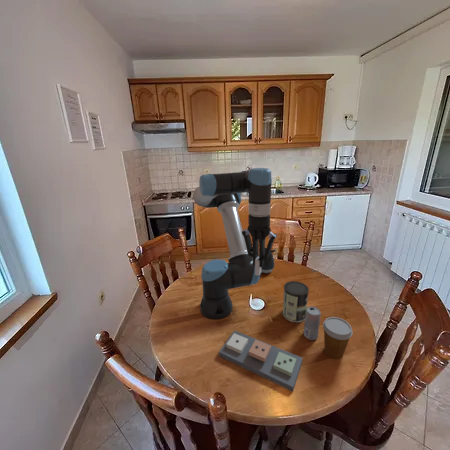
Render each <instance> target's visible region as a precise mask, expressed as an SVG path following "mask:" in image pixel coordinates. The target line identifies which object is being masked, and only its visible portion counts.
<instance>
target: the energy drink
mask: <svg viewBox="0 0 450 450" xmlns="http://www.w3.org/2000/svg"><path fill="white" fill-rule="evenodd" d="M321 315H322V314H321V310H320V309H319V308H318V307H316V306H310V305H309V306H307V309H306V315H305V320H304V324H303V325H304V326H303V336H304V337H305V338H307V340H310V341H314V340H317V339H318V338H319V330H320V322H321Z"/></svg>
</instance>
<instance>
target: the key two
mask: <svg viewBox="0 0 450 450" xmlns="http://www.w3.org/2000/svg"><path fill="white" fill-rule="evenodd" d="M258 340H259V339H257V340H255V342H254V343H253V345H252V347H251V348H250V350H249V355H250V356H252V357H254V358H257V359H259V360H261V361H263V362H265V361H266V359H267V357H268V355H269V353H270V351H271V346H270V345H271V344H270V345H268V344H269V343H267V344H265V343H266V342H265V343H263V342H264V341H262V342H260V341H261V340H260V341H258Z"/></svg>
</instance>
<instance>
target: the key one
mask: <svg viewBox="0 0 450 450" xmlns="http://www.w3.org/2000/svg"><path fill="white" fill-rule="evenodd" d="M247 343H248V339H247V338H245V337H242V336H240V335H237V334H235V333H234V334H233V335H232V337H231V338H230V340H229V341H228V343H227V344H226V346H227V348H229V349H231V350H233V351H236V352H238V353H240V354H241V353H242V352H243V350H244V348H245V347H246V345H247Z"/></svg>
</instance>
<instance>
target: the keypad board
mask: <svg viewBox="0 0 450 450" xmlns="http://www.w3.org/2000/svg"><path fill="white" fill-rule="evenodd" d="M234 333H235V334H237V335H240V336H242V337H245V338H247V339H248V343H247V345H246V347H245V348H244V350H243V352H242V353H241V354H240V353H238V352H236V351H233V350H231V349H229V348H227V346H226V344H227V343H228V341H229V340H230V338H231V337H232V335H233V334H234ZM255 340H258V341H260V342H263V343H265V344H268V345H270V346H271V351H270V353H269V355H268V357H267V359H266V361H265V362H263V361H261V360H259V359H257V358H254V357H252V356H250V355H249V350H250V348H251V347H252V345H253V343H254V342H255ZM279 352H281V353H284V354H286V355H289V356H291V357H293V358H296V364H295V367H294V370H293V373H292V376H289V375H287V374H284V373H282V372H280V371H278V370H276V369H273V365H274V363H275V360H276V358H277V356H278V353H279ZM218 356H219V357H220V358H222V359H224V360H226V361H228V362H230V363H232V364H233V365H237V366H239V367H241V368H243V369H244V370H247V371H248V372H250V373H253V374H255V375H258V376H260V377H261V378H264V379H265V380H268V381H269V382H272V383H274V384H276V385H278V386H280V387H283V388H284V389H285V390H289V391H290V392H294V390H295V386H296V383H297V380H298V378H299V377H298V376H299V374H300V371H301V368H302V364H303V357H302V356H299V355H298V354H294V353H291V352H290V351H287V350H284V349H282V348H279V347H276V346H275V345H271V344H269V343H268V342H264V341H262V340H259V339H257V338H254V337H252V336H249V335H247V334H244V333H242V332H241V331H240V332H239V331H237V330H233V332H232V333H231V334H230V335H229V337H228V339H227V340H226V341H225V343H224V344H223V345H222V347H221V348H220V349H219V351H218Z"/></svg>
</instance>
